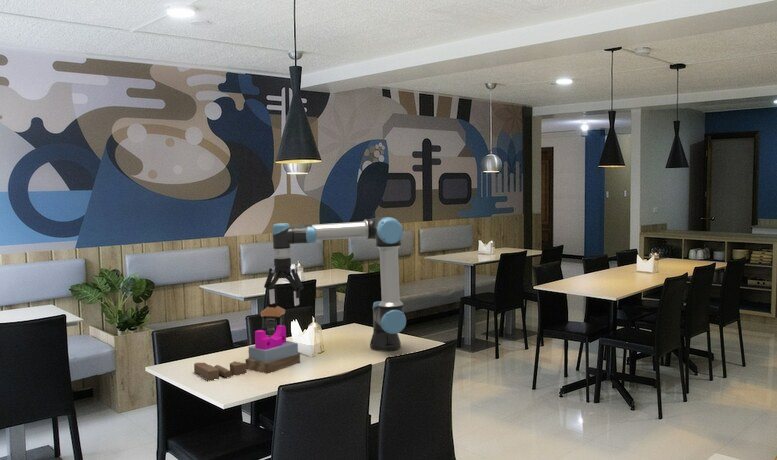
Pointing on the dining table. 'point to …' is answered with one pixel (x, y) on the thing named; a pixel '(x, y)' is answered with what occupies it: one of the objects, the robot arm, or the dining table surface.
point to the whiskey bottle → (272, 316)
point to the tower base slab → (272, 364)
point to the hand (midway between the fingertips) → (284, 304)
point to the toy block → (270, 338)
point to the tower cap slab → (274, 352)
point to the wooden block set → (219, 370)
